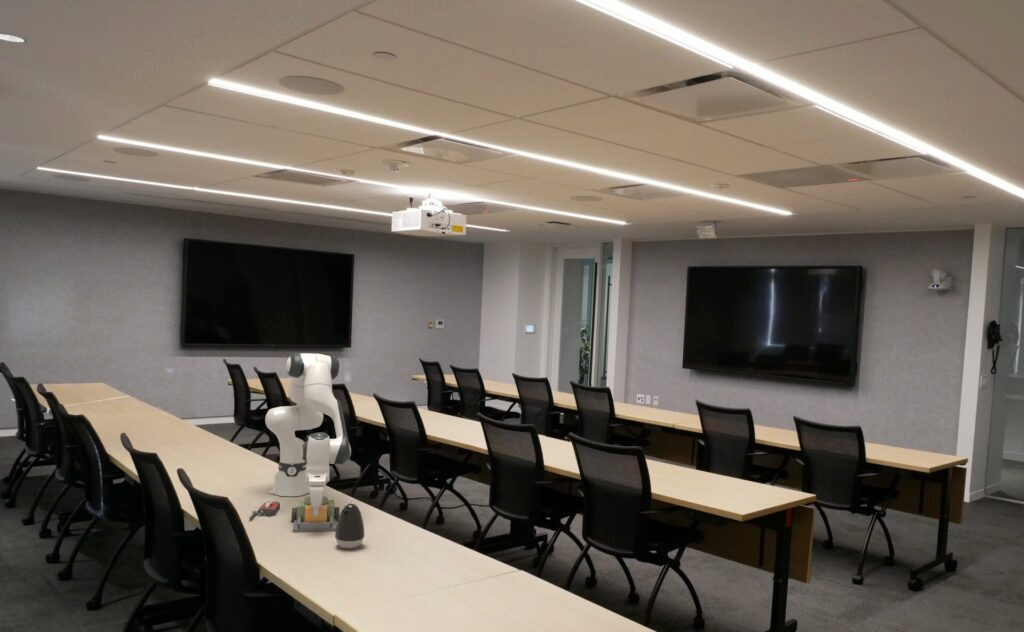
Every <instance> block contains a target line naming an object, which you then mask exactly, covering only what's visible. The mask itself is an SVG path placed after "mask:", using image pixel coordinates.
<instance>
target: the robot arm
mask: <svg viewBox="0 0 1024 632" xmlns="http://www.w3.org/2000/svg"><path fill="white" fill-rule="evenodd" d="M340 366H341V365H340V360H339V359H338V358H337V356H333V355H326V354H322V353H316V352H315V353H310V352H309V353H307V352H305V353H304V352H303V353H300V352H294V353H291V354H289V355H288V358H287V360H286V363H285V369H286V373H287V375H288V376H289V377H291V378H290V382H289V387H288V391H287V394H288V397H289V399H290V401H292V402H293V403H295V405H287V406H286V405H285V406H277V407H273V408H270V409H268V411H267V413H266V414H265V419H264V421H265V422H264V423H265V426H266V427H267V429H269V430H270V431H271V432H272V433H274V435H275V436H276V438H277V440H278V443H279V461H278V468H277V469H278V471H277V472H276V473H275V474H274V478H273V479H274V481H273V487H272V488H271V489H270V490H269V492H268V493H269V494H271V495H276V496H278V497H279V496H280V497H300V496H304V495H307V494H309V497H310V500H311V506H312V507H313V515H314V516H318V511H319V507H320V506H321V504H322V498H323V496H324V491H325V486H326V485H327V483H328V482H330V472H331V471H330V470H331V469H330V468H331V467H330V464H331V465H332V464H333V465H344V464H346V463H347V462H348V461H349V460H350V459H351V455H352V448H351V445H350V442H349V437H348V433H347V432H348V431H347V428H346V422H345V417H344V416H345V415H344V411H343V407H342V404H341V402H340V400H339V399H336V397H335V395H334V393H333V381H332V380H335V379H336V378H337V377H338V375H339V372H340V369H341V368H340ZM324 415H327V416H328V417H330V418H331V419H332V421H333V425H334V429H335V435H336V438H330V435H328V434H327V433H324V432H314V433H310V434H309V435H308V439H307V440H306V441H304V440H303V439H301V438H299V437H296V433H295V432H296V431H305V430H306V431H307V430H308V431H309V430H312V429H316V428H319V427H320V426H321V425H322V424H323V421H324Z"/></svg>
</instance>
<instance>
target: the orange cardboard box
mask: <svg viewBox="0 0 1024 632" xmlns="http://www.w3.org/2000/svg"><path fill="white" fill-rule="evenodd" d="M327 517H328V508H327V505H321V506H320V507H319V511H318V516H314V515H313V507H312V506H311V505H306V506H305V523H314V522H327Z"/></svg>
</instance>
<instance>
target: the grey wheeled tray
mask: <svg viewBox="0 0 1024 632" xmlns="http://www.w3.org/2000/svg"><path fill="white" fill-rule="evenodd" d="M306 505H311V500H310V496H307V497H305V498H304V499H302V500H301V499H299V500H297V505H296V507H291V519H290V520H291V522H293V525H292V533H308V532H309V533H316V532H335V531H336V526H337V523H338V519H339V516H340V506H336V505H335V499H329V498H328V497H327V496H324V495H323V498H322V504H321V505H327V508H328V517H327V522H314V523H305V506H306Z"/></svg>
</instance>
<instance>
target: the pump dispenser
mask: <svg viewBox="0 0 1024 632" xmlns="http://www.w3.org/2000/svg"><path fill="white" fill-rule="evenodd" d="M363 519H364V518H363V516H362V512H361V510H360V508H359V507H358V505H357V504H355V503H347V504H346V505H344V507H343V508H342V509H341V512H340V513H339V519H338V520H337V526H336V531H334V533H335V534H334V537H335V542H336V543H337V545H338V546H339V547H340V548H342V549H345V550H351V549H352V550H353V549H356V548H358V547H359V546H361V544H362V543H363V541H364V538H365V534H366V532H365V525H364V520H363Z"/></svg>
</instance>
